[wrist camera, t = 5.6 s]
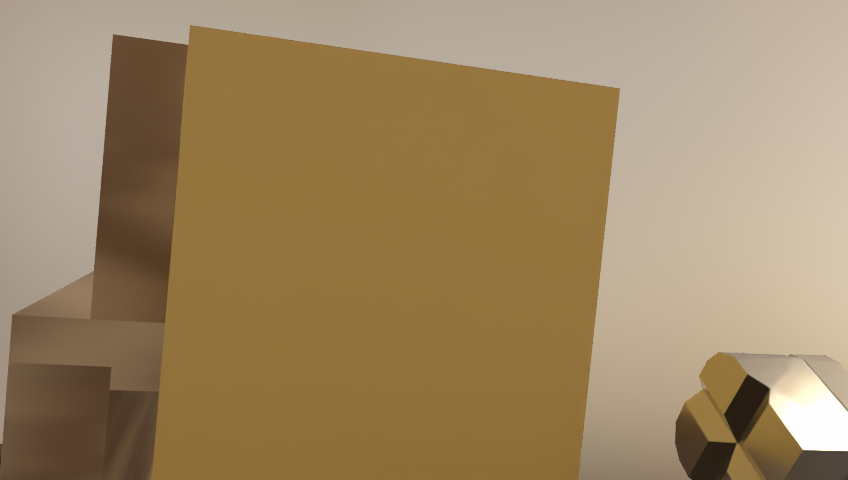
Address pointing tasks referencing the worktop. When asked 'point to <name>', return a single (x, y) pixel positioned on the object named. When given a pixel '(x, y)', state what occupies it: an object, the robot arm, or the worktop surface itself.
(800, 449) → the robot arm
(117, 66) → the birch stand
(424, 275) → the ochre bar
